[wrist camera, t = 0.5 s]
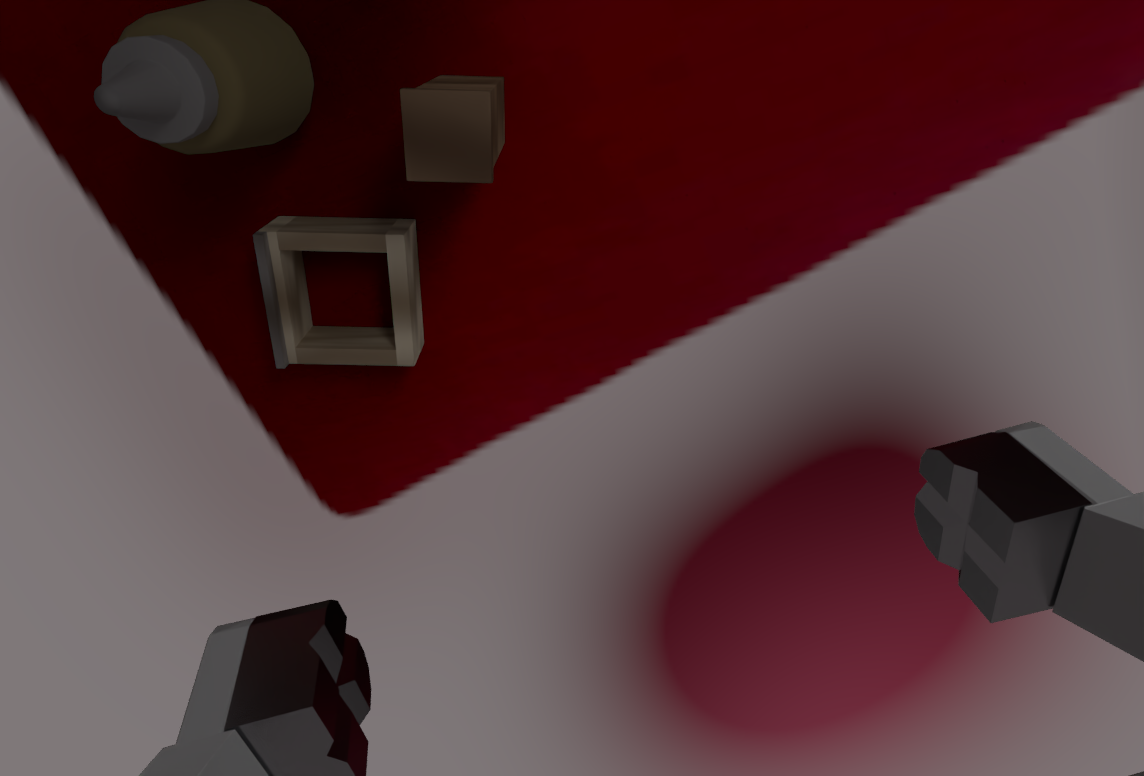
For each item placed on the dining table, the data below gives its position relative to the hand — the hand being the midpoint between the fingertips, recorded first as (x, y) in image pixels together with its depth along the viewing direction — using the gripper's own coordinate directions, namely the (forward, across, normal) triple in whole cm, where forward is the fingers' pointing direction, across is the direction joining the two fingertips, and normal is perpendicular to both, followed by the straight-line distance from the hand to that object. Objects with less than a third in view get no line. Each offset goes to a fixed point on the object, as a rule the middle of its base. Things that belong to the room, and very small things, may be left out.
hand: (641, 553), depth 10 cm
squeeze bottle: (+46, +12, -2) cm, 47 cm away
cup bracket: (+44, +11, +12) cm, 47 cm away
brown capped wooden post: (+43, 0, +2) cm, 43 cm away
